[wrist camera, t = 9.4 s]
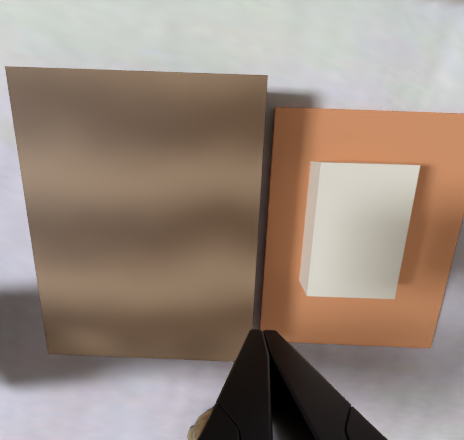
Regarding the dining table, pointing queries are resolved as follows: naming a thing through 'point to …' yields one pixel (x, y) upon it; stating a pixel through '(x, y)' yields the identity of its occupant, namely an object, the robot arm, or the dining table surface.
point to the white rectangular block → (356, 228)
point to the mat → (418, 236)
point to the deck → (142, 207)
